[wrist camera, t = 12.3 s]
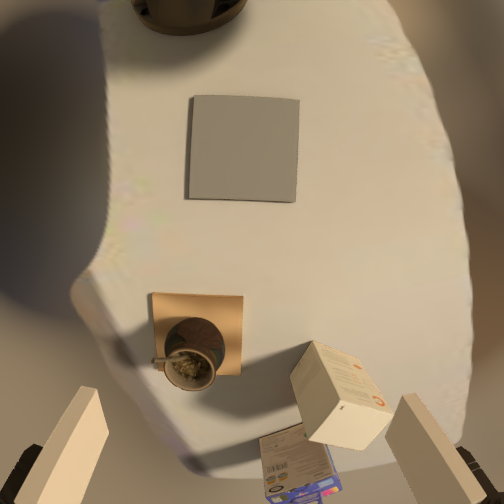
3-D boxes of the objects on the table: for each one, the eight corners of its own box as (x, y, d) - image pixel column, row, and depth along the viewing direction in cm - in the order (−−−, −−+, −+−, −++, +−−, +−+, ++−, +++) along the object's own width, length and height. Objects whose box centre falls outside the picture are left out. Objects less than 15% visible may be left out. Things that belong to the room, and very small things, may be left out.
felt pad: (194, 96, 33) (194, 95, 33) (298, 101, 34) (299, 100, 33) (189, 198, 36) (189, 198, 35) (294, 201, 36) (295, 202, 36)
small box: (287, 375, 41) (305, 441, 28) (311, 339, 40) (340, 398, 27) (334, 391, 42) (362, 452, 30) (358, 358, 41) (396, 414, 28)
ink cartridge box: (269, 456, 45) (279, 524, 30) (256, 438, 43) (263, 510, 29) (325, 436, 44) (348, 503, 30) (316, 416, 43) (339, 486, 29)
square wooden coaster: (153, 292, 38) (152, 294, 37) (243, 296, 38) (243, 298, 38) (159, 367, 40) (158, 371, 39) (240, 372, 41) (240, 375, 40)
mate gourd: (213, 370, 39) (206, 419, 30) (159, 346, 38) (139, 391, 29) (236, 326, 38) (235, 370, 28) (179, 300, 37) (160, 337, 28)
